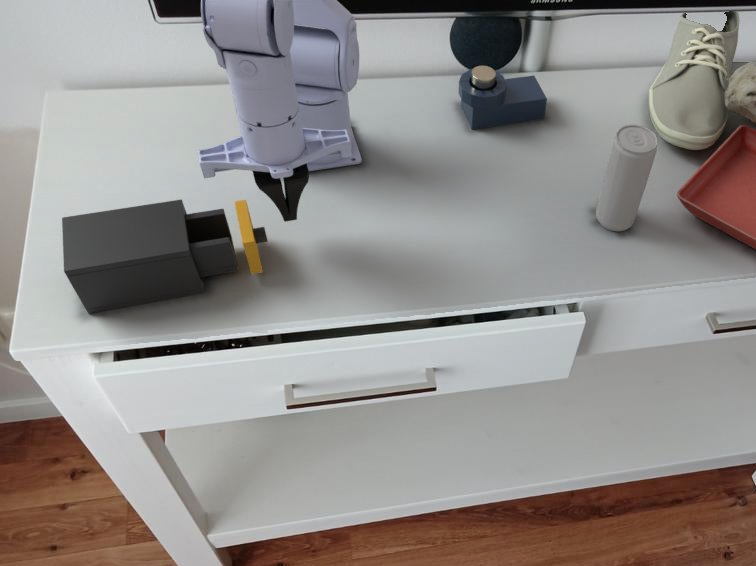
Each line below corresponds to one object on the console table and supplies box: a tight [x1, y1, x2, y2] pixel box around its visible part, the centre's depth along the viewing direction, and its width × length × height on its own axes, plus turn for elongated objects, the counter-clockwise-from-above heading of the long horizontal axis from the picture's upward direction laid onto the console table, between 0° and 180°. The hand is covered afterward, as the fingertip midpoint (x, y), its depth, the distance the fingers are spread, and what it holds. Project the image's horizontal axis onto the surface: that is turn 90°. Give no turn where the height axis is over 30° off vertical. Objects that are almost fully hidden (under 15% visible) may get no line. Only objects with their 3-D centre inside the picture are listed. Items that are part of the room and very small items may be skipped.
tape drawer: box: [185, 199, 269, 278], centre depth 81 cm, size 12×6×5 cm, turn 109°
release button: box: [471, 65, 496, 91], centre depth 97 cm, size 3×3×2 cm
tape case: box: [61, 199, 206, 315], centre depth 79 cm, size 11×7×6 cm, turn 109°
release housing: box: [458, 68, 548, 130], centre depth 100 cm, size 11×6×5 cm, turn 109°
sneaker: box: [648, 10, 740, 151], centre depth 105 cm, size 11×29×8 cm, turn 165°
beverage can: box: [595, 124, 659, 232], centre depth 88 cm, size 5×5×12 cm
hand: (289, 214), depth 84 cm, fingers closed
